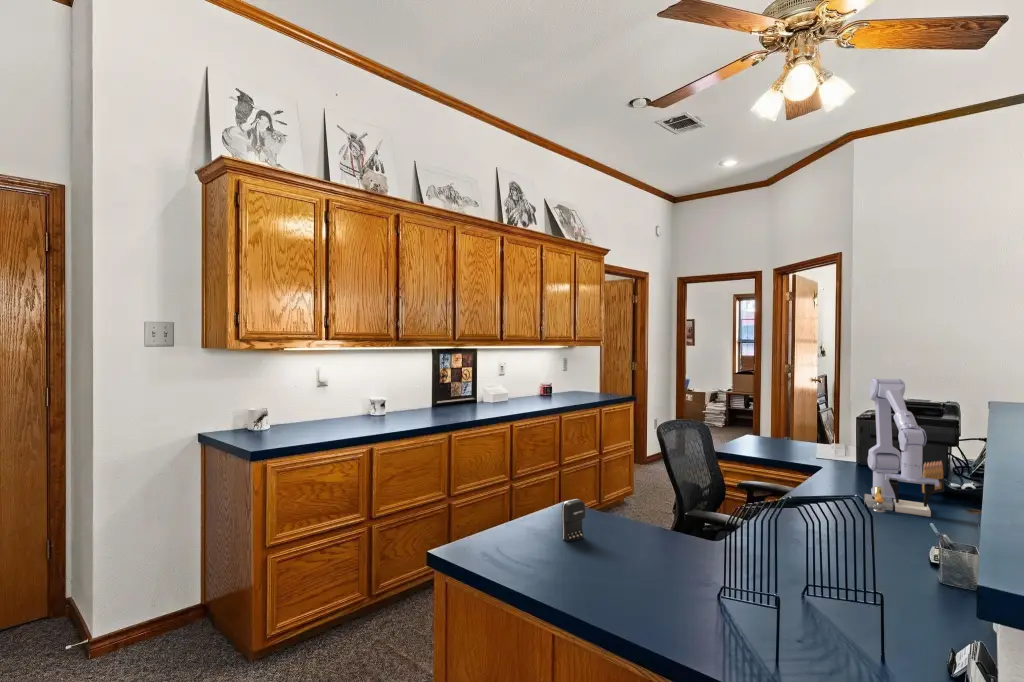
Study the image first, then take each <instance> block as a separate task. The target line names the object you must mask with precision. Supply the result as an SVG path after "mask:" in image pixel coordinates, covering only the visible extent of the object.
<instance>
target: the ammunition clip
mask: <svg viewBox="0 0 1024 682" xmlns="http://www.w3.org/2000/svg"><path fill="white" fill-rule="evenodd" d="M943 465H944V464H943V461H942V460H937V461H935V460H934V461H930V462H929V461H927V462H926V461H925V462H924V464H923V466H922V477H925V478H931V479H938V480H939V487H938V486H935V490H934V491H933V493H932V494H938V493H944V492H945V478H944V469H943V467H944V466H943ZM920 493H921V494H923V495H924V484H920Z"/></svg>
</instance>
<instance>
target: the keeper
mask: <svg viewBox="0 0 1024 682" xmlns="http://www.w3.org/2000/svg"><path fill="white" fill-rule="evenodd" d="M875 501H876V502H884V498H882V497H881V495H880V494H877V497H875Z"/></svg>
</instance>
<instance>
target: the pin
mask: <svg viewBox="0 0 1024 682" xmlns="http://www.w3.org/2000/svg"><path fill="white" fill-rule="evenodd" d="M877 494H880V495H881V497H882V496H883V488H882V487H878V486H875V487H874V499H875V497H877Z"/></svg>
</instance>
